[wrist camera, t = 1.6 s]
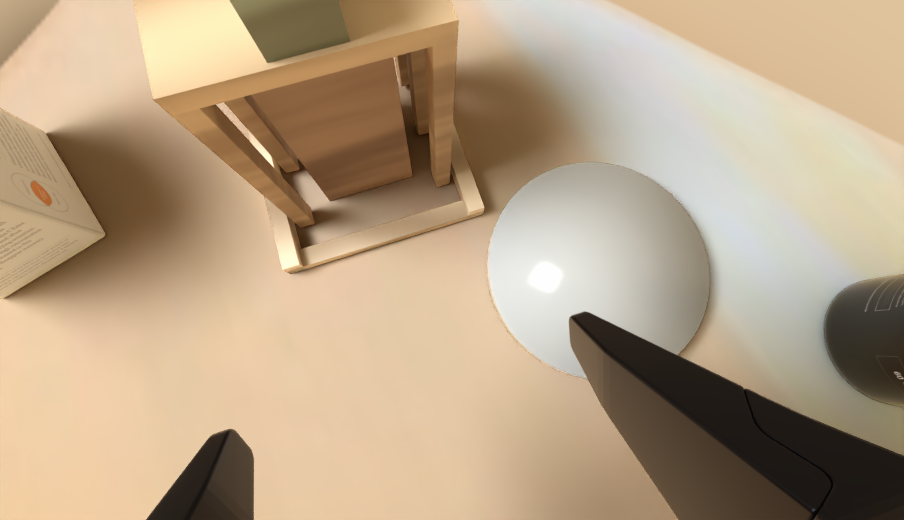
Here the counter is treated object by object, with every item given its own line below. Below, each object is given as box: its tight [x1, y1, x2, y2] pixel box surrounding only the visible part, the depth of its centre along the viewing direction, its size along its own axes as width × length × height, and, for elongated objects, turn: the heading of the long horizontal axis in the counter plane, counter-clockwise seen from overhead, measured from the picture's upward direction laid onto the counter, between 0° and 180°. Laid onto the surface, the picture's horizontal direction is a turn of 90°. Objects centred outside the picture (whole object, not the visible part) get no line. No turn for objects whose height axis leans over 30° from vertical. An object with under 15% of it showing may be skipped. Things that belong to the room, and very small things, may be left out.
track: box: [247, 122, 484, 274], centre depth 24 cm, size 18×11×2 cm, turn 18°
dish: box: [486, 162, 710, 379], centre depth 23 cm, size 12×12×1 cm
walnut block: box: [251, 57, 413, 201], centre depth 19 cm, size 5×5×11 cm
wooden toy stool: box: [133, 0, 458, 228], centre depth 17 cm, size 8×9×16 cm
